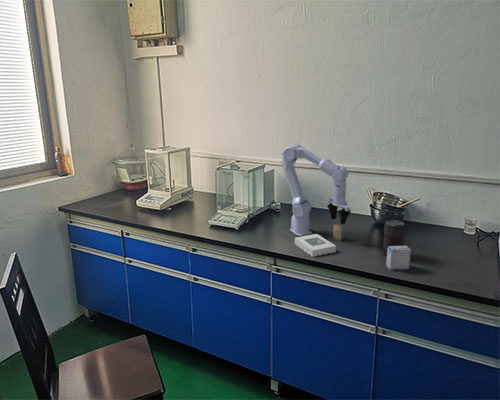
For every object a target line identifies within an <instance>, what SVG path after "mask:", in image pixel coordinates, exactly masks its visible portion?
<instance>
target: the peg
mask: <svg viewBox="0 0 500 400" xmlns="http://www.w3.org/2000/svg"><path fill="white" fill-rule="evenodd" d="M332 230H333V232H332V240H333V241H334V242H341V241H342V238H343V224H338V223H337V224H333V229H332Z"/></svg>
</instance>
